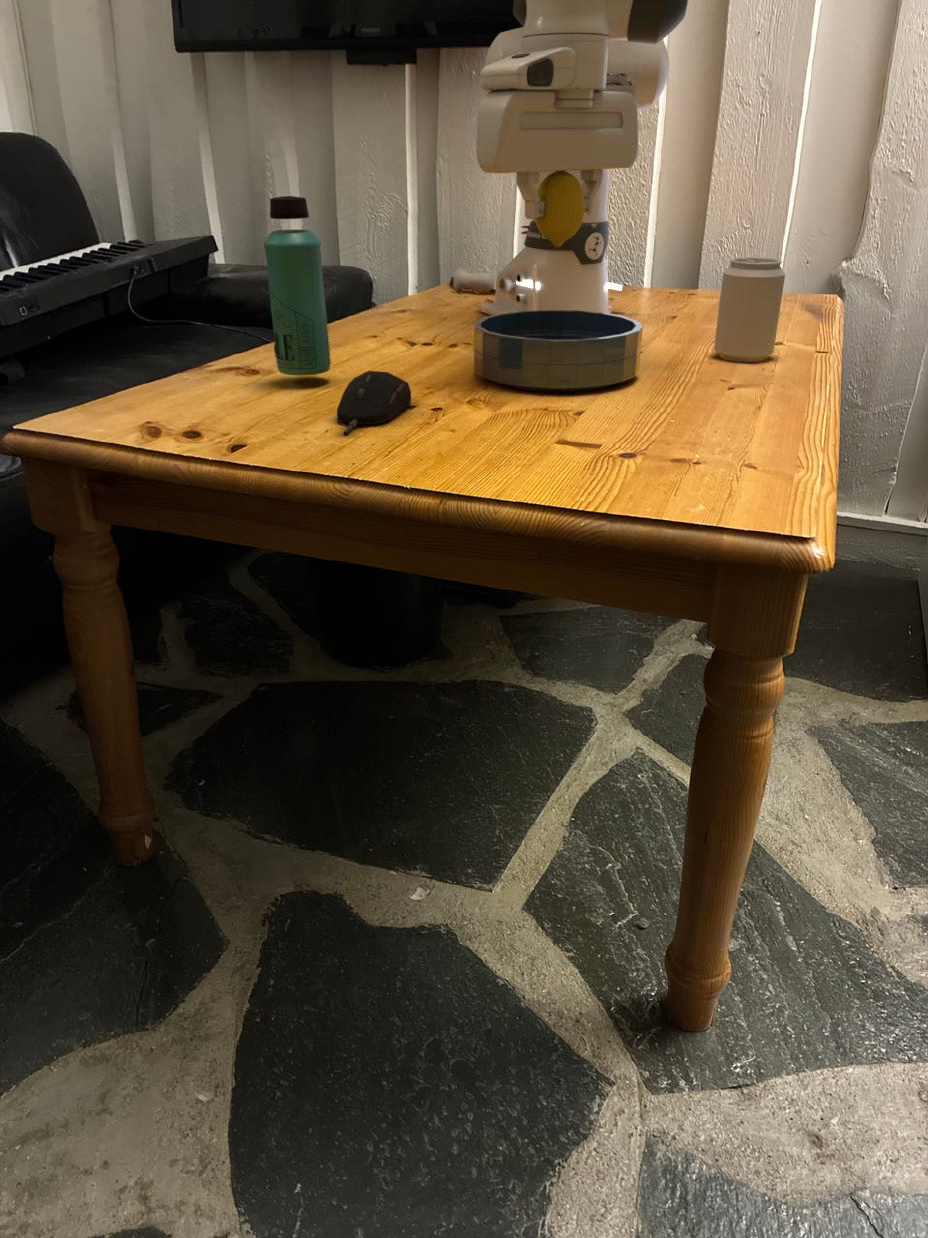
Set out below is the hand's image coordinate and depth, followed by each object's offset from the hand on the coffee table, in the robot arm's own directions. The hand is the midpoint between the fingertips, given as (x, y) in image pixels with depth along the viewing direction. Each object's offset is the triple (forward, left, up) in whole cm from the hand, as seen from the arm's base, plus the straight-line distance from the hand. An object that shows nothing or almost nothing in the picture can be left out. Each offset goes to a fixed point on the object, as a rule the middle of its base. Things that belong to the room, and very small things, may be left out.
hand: (558, 216), depth 100 cm
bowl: (-1, +1, -18) cm, 18 cm away
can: (+6, +27, -18) cm, 33 cm away
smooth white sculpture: (-60, +32, -18) cm, 70 cm away
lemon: (0, 0, -3) cm, 3 cm away
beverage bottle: (-16, -25, -18) cm, 34 cm away
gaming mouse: (+1, -26, -18) cm, 31 cm away
